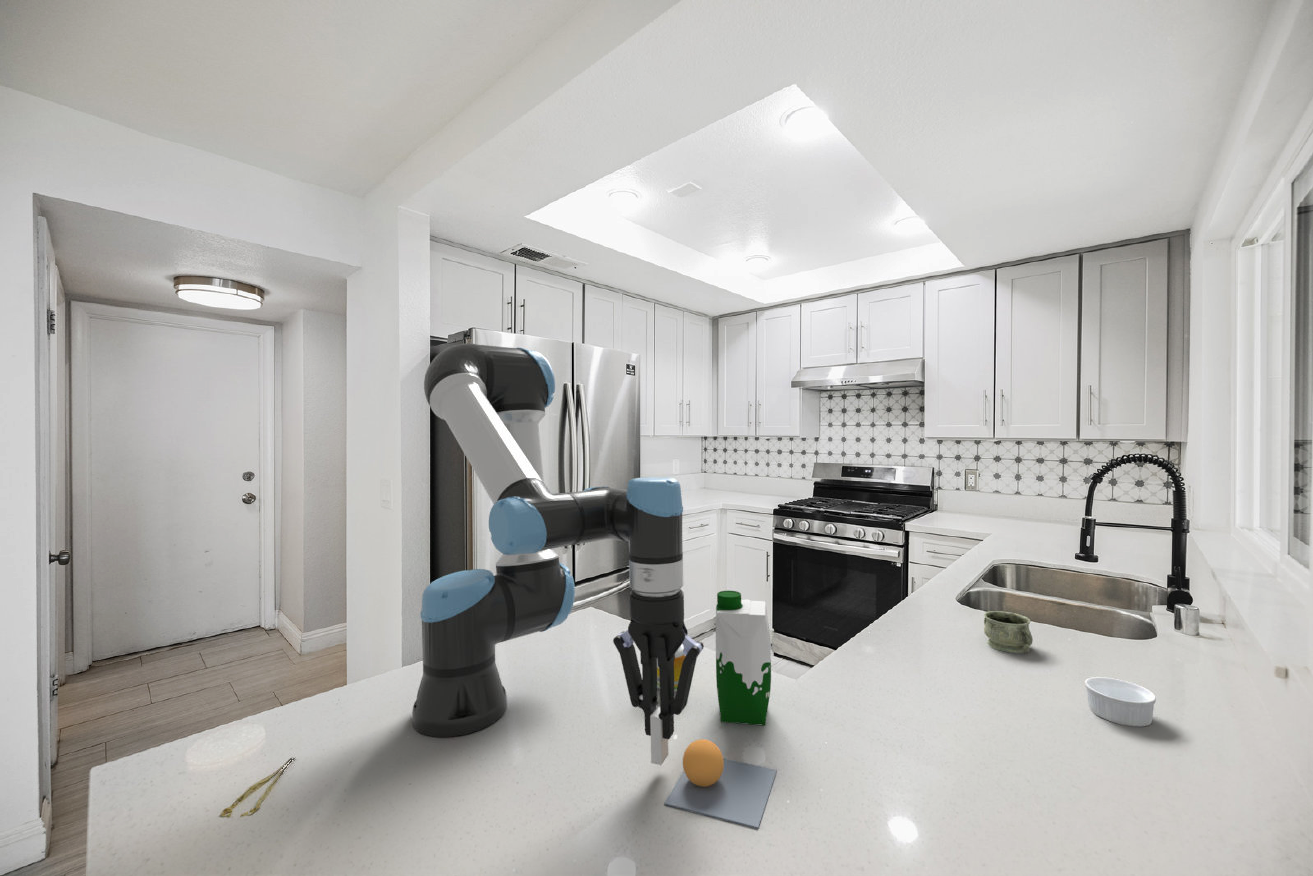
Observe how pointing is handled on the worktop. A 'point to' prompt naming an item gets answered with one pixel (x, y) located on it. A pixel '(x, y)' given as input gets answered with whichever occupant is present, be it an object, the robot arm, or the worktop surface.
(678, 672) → the supplement bottle
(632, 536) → the robot arm
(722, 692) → the milk carton
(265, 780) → the tongs
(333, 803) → the worktop surface
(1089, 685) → the ramekin
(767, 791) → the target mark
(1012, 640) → the vessel
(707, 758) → the ball
